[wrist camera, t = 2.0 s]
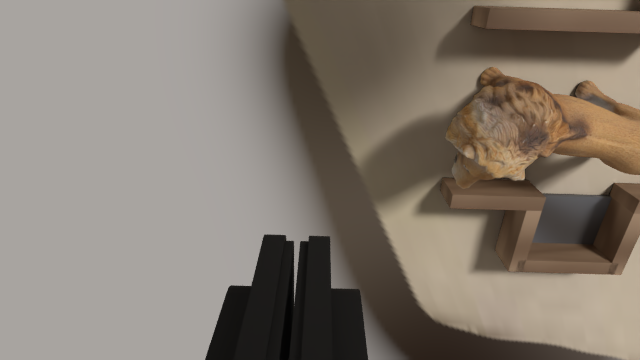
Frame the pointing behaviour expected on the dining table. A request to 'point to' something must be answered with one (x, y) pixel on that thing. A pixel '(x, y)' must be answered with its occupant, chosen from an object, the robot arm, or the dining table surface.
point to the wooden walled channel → (556, 209)
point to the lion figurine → (539, 129)
